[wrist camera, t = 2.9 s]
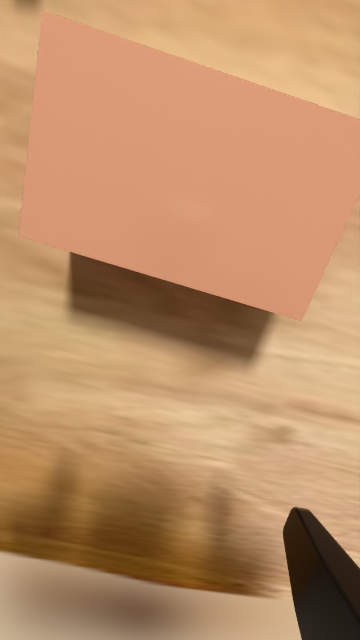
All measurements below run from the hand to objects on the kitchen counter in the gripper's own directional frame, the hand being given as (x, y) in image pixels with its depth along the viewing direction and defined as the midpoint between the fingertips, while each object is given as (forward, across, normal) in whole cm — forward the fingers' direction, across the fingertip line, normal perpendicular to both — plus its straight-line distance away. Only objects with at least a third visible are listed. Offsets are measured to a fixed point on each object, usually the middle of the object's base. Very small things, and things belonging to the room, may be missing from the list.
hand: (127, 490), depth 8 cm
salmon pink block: (+8, 0, -8) cm, 12 cm away
